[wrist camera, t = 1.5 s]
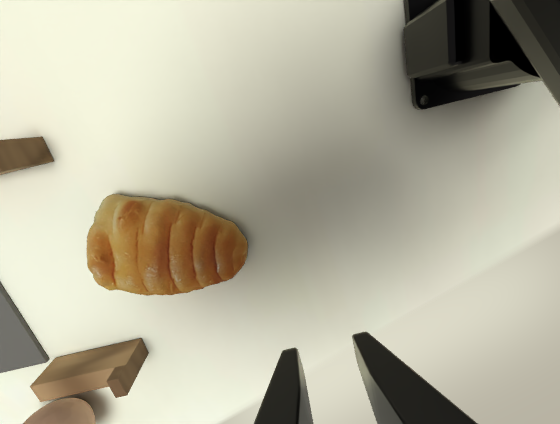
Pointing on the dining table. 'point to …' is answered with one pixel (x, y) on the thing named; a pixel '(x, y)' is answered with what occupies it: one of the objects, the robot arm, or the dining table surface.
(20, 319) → the mat
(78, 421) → the egg
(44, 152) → the wooden blocks
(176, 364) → the dining table surface
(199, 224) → the pastry
